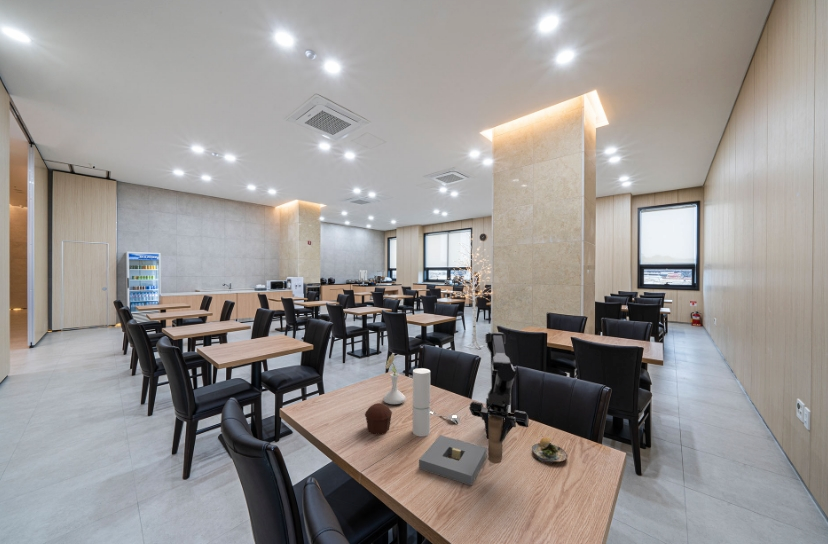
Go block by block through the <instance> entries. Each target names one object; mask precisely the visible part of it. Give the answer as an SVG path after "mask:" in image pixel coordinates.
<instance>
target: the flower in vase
mask: <svg viewBox="0 0 828 544" xmlns="http://www.w3.org/2000/svg"><path fill="white" fill-rule="evenodd" d="M394 360H395V354H394V353H392V354H391V355H389V357H388V360H387V361H386V364H385V369H387V370H388V369H389V368H390V367H392V368H391V371H392V373H389V377H390V378H391V384H392V385H391V390H389V391H388V392H387V393H385V395H383V398H382V400H383V402H384V403H386V404H387V405H388V404H389V405H400V404H402V403H404V402H405V401H406V395H404V394H403V392H401V391H400V390H398V378H399V376H400V373H397V368H396V366H395V364H394Z"/></svg>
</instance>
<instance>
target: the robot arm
mask: <svg viewBox="0 0 828 544" xmlns="http://www.w3.org/2000/svg"><path fill="white" fill-rule="evenodd" d="M484 342H485V344H486V347H487V350H488V351H489V352H490V383H491V384H490V385H491V386H490V387H491V388H490V389H489V391H488V393H487V397H486V399H485V407H484V404H483V403H482V402H477V401H471V402H470V403H469V407H468V409H469V411H470V413H471V415H472V416H474V417H479V418H481V420H482V421H483V423H484V427H485V436H486V440H488V418H489V417H490V415H491V416H496V417H500V418H503V430H502V434H501V440H500V442H501V443H502V444H503V442H504V441H505V438H506V437H507V435H508V434H509V433H510V431H511V430H512V429H513V428H516V427H517V426H519V427H523V428H529V425H530V424H529V422H530V419H529V415H528V413H527V412H526V411H524V410H523V411H521V410H516V409H515V410H514V411H513V413H512V412H509V407H510V406H511V405H512V388H513V387H512V386H513V384H514V381H515V377H516V374H517V373H516V372H517V370H516V368H515V367H514V366H513V364H512V363H511V359H510V357H509V356H507V355H506V350H505V344H506V342H507V339H506V334H505V333H504V332H502V331H501V332H496V331H495V332H494V331H493V332H488V333H485V341H484Z"/></svg>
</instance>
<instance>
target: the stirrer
mask: <svg viewBox="0 0 828 544" xmlns="http://www.w3.org/2000/svg"><path fill="white" fill-rule="evenodd" d="M431 415H433V416H435V415H436V417H445V418H448V419H449V420H450V421H452V422H453V423H454V424H456V425H459V424H460V423H461V420H460V417H459V416H458V415H457V414H446V415H445V414H443V415H442V414H437V413H436V412H434V411H433V410H432V409H431V408H430V416H431Z"/></svg>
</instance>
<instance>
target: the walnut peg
mask: <svg viewBox="0 0 828 544" xmlns="http://www.w3.org/2000/svg"><path fill="white" fill-rule="evenodd" d="M502 430H503V418H500V417H496V416H491V415H490V417H489V418H488V439H487V440H488V441H487V442H488V447H487V457H488V458H487V460H488V462H490V463H492V464H500V463H501V462H502V460H503V442H502V443H501V442H500V440H501V434H502Z"/></svg>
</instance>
